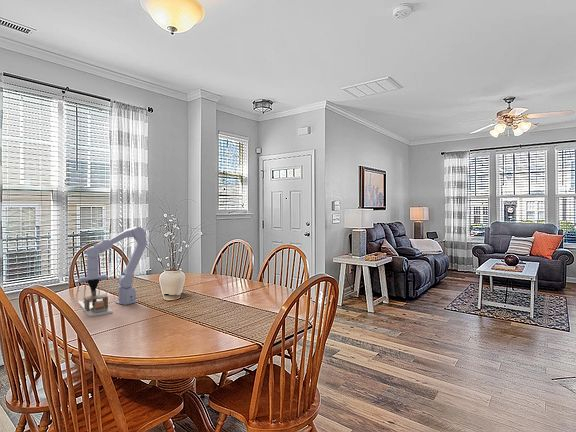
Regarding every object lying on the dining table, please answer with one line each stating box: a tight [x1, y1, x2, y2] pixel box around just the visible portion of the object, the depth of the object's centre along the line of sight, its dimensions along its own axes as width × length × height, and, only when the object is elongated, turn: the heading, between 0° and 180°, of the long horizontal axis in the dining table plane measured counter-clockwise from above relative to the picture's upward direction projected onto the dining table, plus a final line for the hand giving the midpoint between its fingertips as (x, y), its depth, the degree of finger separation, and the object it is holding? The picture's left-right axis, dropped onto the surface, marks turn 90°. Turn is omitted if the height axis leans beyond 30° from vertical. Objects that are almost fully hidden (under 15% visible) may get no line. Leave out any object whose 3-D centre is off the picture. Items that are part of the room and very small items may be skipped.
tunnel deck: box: [77, 293, 113, 318], centre depth 197 cm, size 32×11×7 cm, turn 39°
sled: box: [90, 289, 107, 313], centre depth 191 cm, size 16×6×8 cm, turn 39°
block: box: [94, 300, 104, 310], centre depth 187 cm, size 4×4×4 cm
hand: (93, 293), depth 199 cm, fingers closed, pressing on sled
